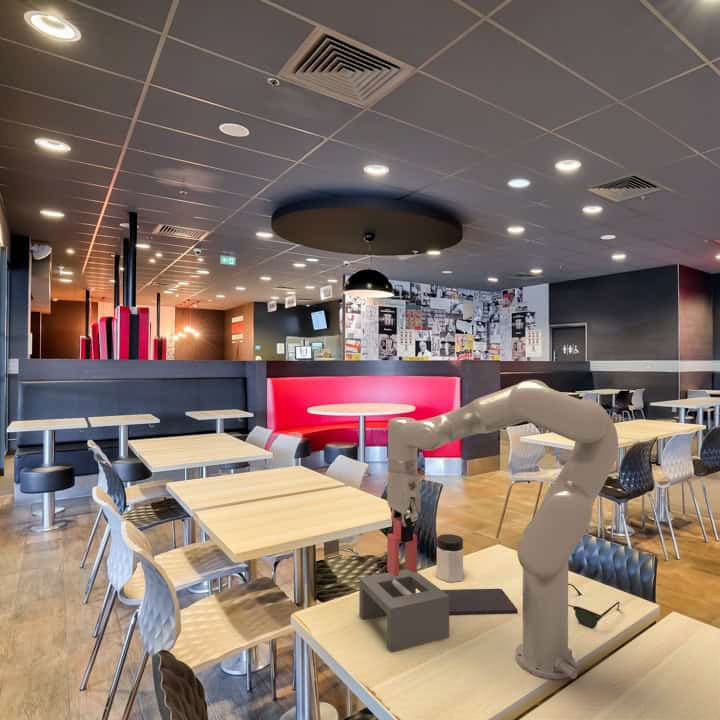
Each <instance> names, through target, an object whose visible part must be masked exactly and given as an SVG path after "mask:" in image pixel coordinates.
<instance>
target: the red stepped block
mask: <svg viewBox="0 0 720 720" xmlns="http://www.w3.org/2000/svg"><path fill="white" fill-rule="evenodd" d="M407 518H408V517H406V519H407ZM401 526H403V525H402V517H395V518H393V533H392V532H391V533H387V534H386V535H387V537H386V539H387V542H386V543H387V544H386V548H387V549H386V550H387V551H386V554H387V555H386V556H387V557H386V569H387V572H388V573H389V572H390V573H391V574H392V575H393V576H399V571H400V544H403V542H401ZM404 548H405V549H404V566H405V567H404V568H405V569H408V570H409V571H411V572H412V573H416V572H418V536H417V534H415V533H413V541H410V542H404Z"/></svg>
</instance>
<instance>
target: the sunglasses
mask: <svg viewBox="0 0 720 720" xmlns="http://www.w3.org/2000/svg"><path fill="white" fill-rule="evenodd" d="M568 586H571V587H573V588H574V590H575V591H576V593H577V594H578V596H579V597H581V596H580V595H582V596H583V594H582V592H581V591H580V590H579V589H577V588H576V586H575V585H573V584H572V583H568ZM620 603H621V602H620V601H617V602H616V603H614V604H612V606H610V607H609V608H608V609H607V610H605V611H604V612H603V613H600V614H599V613H597V612H594V611H591V610H589V609H586V608H584V607H581V606H579V605H578V606H577V605H571V604H569V603H568V607H570V608H573V610H574V616H575V617H576V619H577V622H578V623H579V625H582V626H583V627H586V628H589V629H592V630H593V629H596V627H597V625H598V622H599V621H600V619H602V618H603V617H604V616H605V615H607V614H608V613H609V612H611V610H612V609H614V608H615V607H616V606H617V608H616V611H619V607H620Z"/></svg>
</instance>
